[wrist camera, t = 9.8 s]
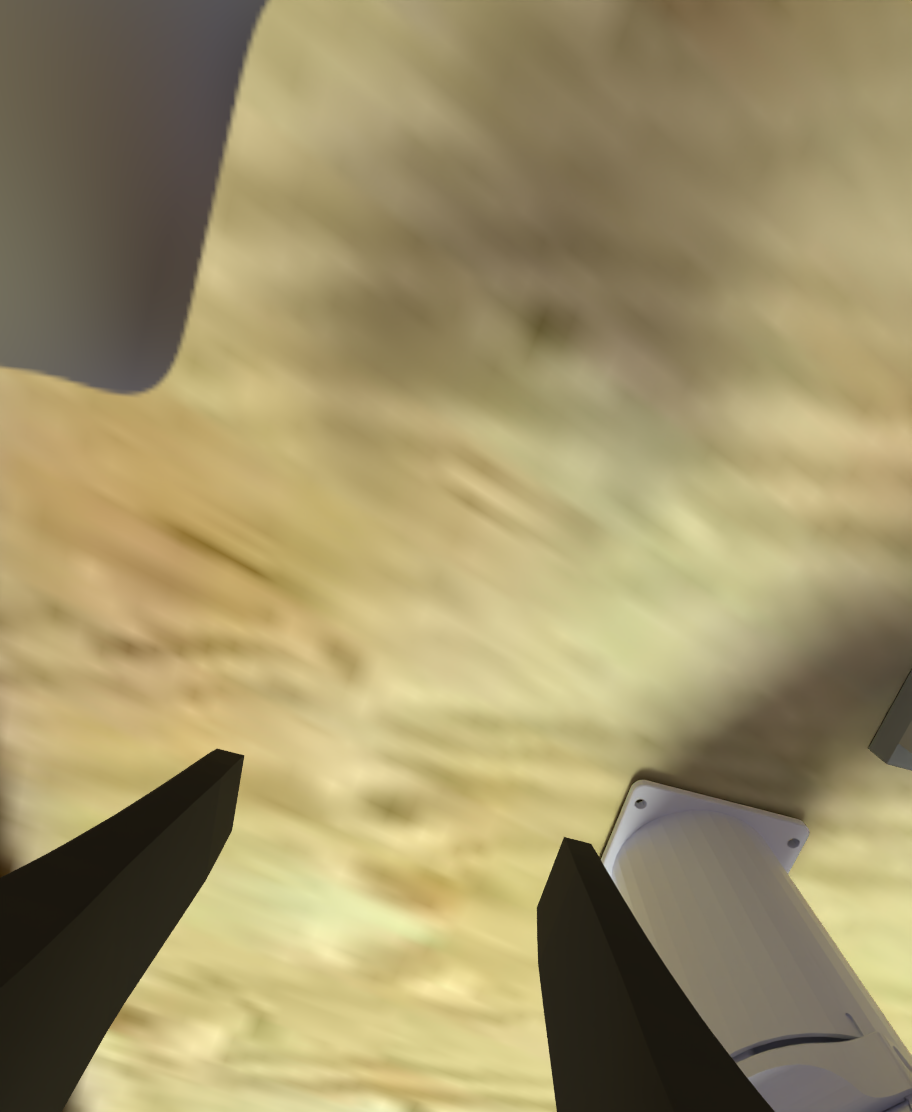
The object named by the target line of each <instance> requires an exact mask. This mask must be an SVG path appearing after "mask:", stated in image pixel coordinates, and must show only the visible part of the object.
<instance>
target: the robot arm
mask: <svg viewBox="0 0 912 1112" xmlns="http://www.w3.org/2000/svg"><path fill="white" fill-rule="evenodd" d="M243 760H244V755H240V754H236V753H232V752H228V751H224V750H221V749H216V750H214V751H212V752H210V753H209V754H207V755H206V756H204V757H203V758H201V759H200V760H198V761H197V762H195V763H194V764H192V765H191V766H189V767H188V768H187V769H185V770H184V771H182V772H181V773H179V774H178V775H176V776H175V777H173V778H172V779H170V780H169V781H167V782H166V783H164V784H163V785H161V786H160V787H158V788H156V789H155V790H153V791H152V792H150V793H149V794H147V795H145V796H144V797H142V798H141V799H139V800H138V801H136V802H134V803H133V804H131V805H130V806H128V807H127V808H125V809H123V810H122V811H120V812H119V813H117V814H115V815H114V816H112V817H110V818H109V819H107V820H105V821H104V822H102V823H100V824H98V825H97V826H95V827H93V828H92V829H90V830H88V831H86V832H85V833H83V834H81V835H79V836H78V837H76V838H74V839H73V840H71V841H69V842H67V843H66V844H64V845H62V846H60V847H58V848H57V849H55V850H53V851H51V852H49V853H47V854H46V855H44V856H42V857H40V858H38V859H36V860H34V861H32V862H30V863H29V864H27V865H25V866H23V867H21V868H19V869H17V870H15V871H13V872H11V873H9V874H7V875H5V876H3V877H1V878H0V1112H62V1110H63V1108H64V1107H65V1105H66V1103H67V1101H68V1099H69V1098H70V1096H71V1094H72V1092H73V1091H74V1089H75V1087H76V1085H77V1083H78V1082H79V1080H80V1078H81V1076H82V1075H83V1073H84V1071H85V1069H86V1068H87V1066H88V1064H89V1062H90V1061H91V1059H92V1057H93V1055H94V1053H95V1052H96V1050H97V1048H98V1046H99V1045H100V1043H101V1041H102V1039H103V1038H104V1036H105V1034H106V1032H107V1031H108V1029H109V1027H110V1026H111V1024H112V1023H113V1021H114V1019H115V1018H116V1016H117V1015H118V1013H119V1011H120V1010H121V1008H122V1006H123V1005H124V1003H125V1002H126V1000H127V999H128V997H129V996H130V994H131V993H132V991H133V990H134V988H135V987H136V985H137V984H138V982H139V981H140V979H141V978H142V976H143V975H144V973H145V972H146V970H147V968H148V967H149V965H150V964H151V962H152V961H153V959H154V958H155V956H156V955H157V953H158V952H159V950H160V949H161V947H162V946H163V944H164V943H165V941H166V940H167V938H168V937H169V935H170V934H171V932H172V931H173V929H174V928H175V926H176V925H177V923H178V922H179V920H180V919H181V917H182V916H183V914H184V913H185V911H186V910H187V908H188V907H189V905H190V904H191V902H192V901H193V899H194V897H195V896H196V894H197V893H198V891H199V890H200V888H201V887H202V885H203V884H204V882H205V881H206V879H207V877H208V875H209V873H210V871H211V869H212V868H213V866H214V864H215V862H216V860H217V858H218V856H219V854H220V853H221V851H222V849H223V847H224V845H225V843H226V841H227V839H228V837H229V835H230V833H231V831H232V827H233V821H234V815H235V809H236V803H237V797H238V791H239V785H240V778H241V772H242V766H243ZM639 799H643V801H641V802H639V803H637V802H636V800H639ZM809 833H810V832H809V829H808V827H807V826H806V825H805V824H804V823H803V821H801V820H799V819H796V818H792V817H788V816H784V815H780V814H776V813H772V812H768V811H765V810H761V809H757V808H753V807H749V806H745V805H741V804H737V803H733V802H729V801H726V800H722V799H718V798H714V797H710V796H706V795H702V794H698V793H694V792H690V791H687V790H683V789H679V788H675V787H671V786H667V785H663V784H659V783H655V782H652V781H648V780H638V781H636V782H635V783H633V785H632V786H631V788H630V791H629V793H628V795H627V798H626V800H625V803H624V805H623V807H622V810H621V812H620V815H619V817H618V819H617V822H616V824H615V827H614V829H613V832H612V834H611V836H610V839H609V841H608V844H607V846H606V848H605V851H604V853H603V856H602V858H601V860H600V858H599V856H598V854H597V853H596V851H595V850H594V848H593V846H592V845H591V844H589V843H585V842H582V841H578V840H574V839H570V838H566V837H564V839H563V841H562V844H561V847H560V849H559V852H558V854H557V857H556V860H555V862H554V865H553V867H552V870H551V872H550V875H549V878H548V880H547V883H546V885H545V888H544V891H543V893H542V896H541V898H540V901H539V904H538V906H537V941H538V966H539V974H540V983H541V991H542V999H543V1007H544V1015H545V1023H546V1030H547V1038H548V1046H549V1054H550V1061H551V1069H552V1077H553V1085H554V1092H555V1100H556V1108H557V1112H912V1055H911V1054H910V1052H909V1051H908V1049H907V1048H906V1046H905V1045H904V1043H903V1042H902V1040H901V1039H900V1038H899V1036H898V1035H897V1033H896V1032H895V1030H894V1029H893V1027H892V1026H891V1024H890V1023H889V1021H888V1020H887V1019H886V1017H885V1016H884V1014H883V1013H882V1011H881V1010H880V1008H879V1007H878V1005H877V1004H876V1002H875V1001H874V1000H873V998H872V997H871V995H870V994H869V992H868V991H867V989H866V988H865V986H864V985H863V983H862V982H861V980H860V979H859V978H858V976H857V975H856V973H855V972H854V970H853V969H852V967H851V966H850V964H849V963H848V961H847V960H846V959H845V957H844V956H843V954H842V953H841V951H840V950H839V948H838V947H837V945H836V944H835V942H834V941H833V940H832V938H831V937H830V935H829V934H828V932H827V931H826V929H825V928H824V926H823V925H822V923H821V922H820V921H819V919H818V918H817V916H816V915H815V913H814V912H813V910H812V909H811V907H810V906H809V904H808V903H807V902H806V900H805V899H804V897H803V896H802V894H801V893H800V891H799V890H798V888H797V887H796V885H795V884H794V882H793V881H792V880H791V878H790V877H789V875H788V873H789V871H790V869H791V868H792V866H793V864H794V862H795V860H796V858H797V857H798V855H799V853H800V851H801V849H802V847H803V846H804V844H805V842H806V840H807V838H808V836H809ZM790 839H792V840H790ZM789 840H790V841H789Z"/></svg>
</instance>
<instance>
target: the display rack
mask: <svg viewBox="0 0 912 1112" xmlns="http://www.w3.org/2000/svg"><path fill="white" fill-rule="evenodd" d="M868 749H869V750H870V751H872V752H873V753H874V754H875V755H876V756H878V757H879V758H880V759H881V760H882V761H884V762H885V763H886V764H888V765H892V766H896V767H900V768H904V769H908V770H912V670H911V672H910V674H909V676H908V678H907V680H906V681H905V683H904V685H903V687H902V689H901V690H900V692H899V694H898V696H897V698H896V699H895V701H894V703H893V705H892V707H891V708H890V710H889V712H888V714H887V716H886V717H885V719H884V721H883V723H882V725H881V726H880V728H879V730H878V732H877V734H876V735H875V737H874V739H873V741H872V743H871V744H870V746H869V748H868Z"/></svg>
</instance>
